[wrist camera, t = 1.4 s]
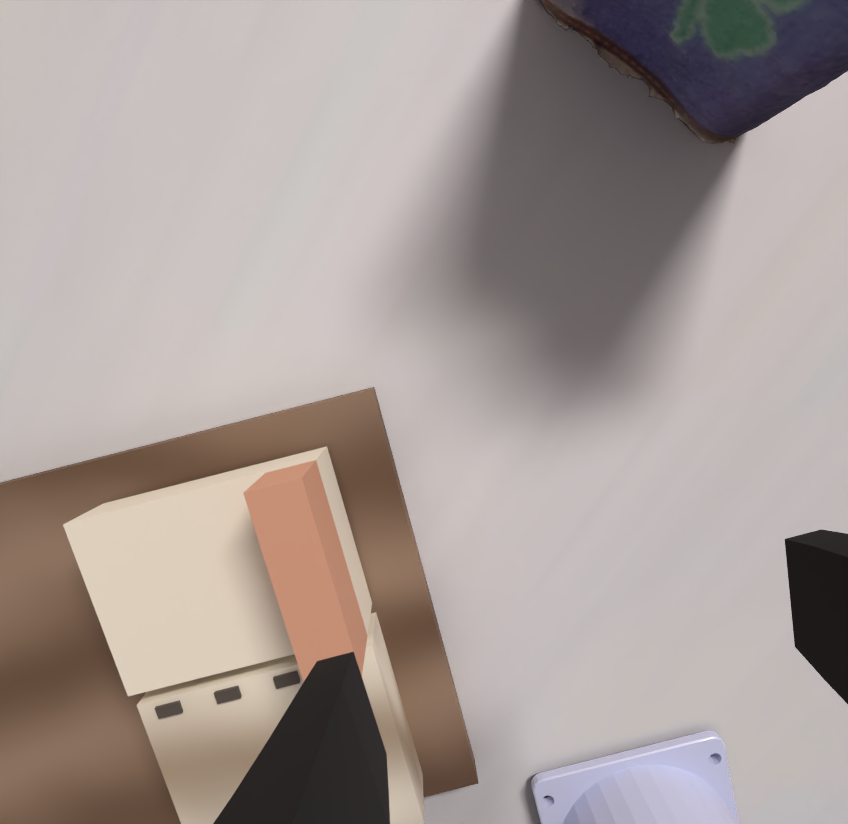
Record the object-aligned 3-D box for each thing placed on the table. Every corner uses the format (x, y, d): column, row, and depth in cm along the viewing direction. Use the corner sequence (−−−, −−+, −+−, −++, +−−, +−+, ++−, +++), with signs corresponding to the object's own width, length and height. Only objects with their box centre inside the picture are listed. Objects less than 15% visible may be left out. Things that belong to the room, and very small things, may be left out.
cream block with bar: (372, 602, 18) (361, 678, 14) (159, 656, 18) (87, 747, 14) (326, 446, 17) (301, 477, 13) (103, 503, 17) (9, 552, 13)
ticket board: (474, 761, 20) (486, 836, 17) (6, 879, 20) (-66, 976, 17) (374, 387, 18) (366, 395, 15) (-153, 521, 18) (-270, 558, 15)
